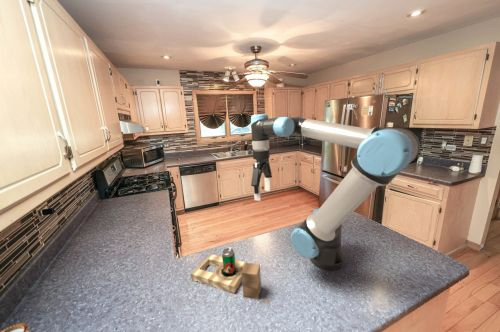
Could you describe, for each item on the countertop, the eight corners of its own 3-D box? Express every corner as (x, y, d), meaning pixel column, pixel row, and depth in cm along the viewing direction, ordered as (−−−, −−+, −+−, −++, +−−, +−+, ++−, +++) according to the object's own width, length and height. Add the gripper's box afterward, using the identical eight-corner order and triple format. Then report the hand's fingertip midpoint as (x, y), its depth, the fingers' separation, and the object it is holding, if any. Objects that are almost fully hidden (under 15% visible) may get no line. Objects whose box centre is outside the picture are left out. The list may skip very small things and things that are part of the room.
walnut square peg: (261, 287, 78) (259, 264, 77) (258, 299, 73) (256, 274, 71) (247, 285, 80) (245, 262, 78) (243, 297, 75) (241, 272, 73)
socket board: (249, 269, 89) (249, 263, 88) (234, 293, 76) (233, 286, 76) (211, 259, 97) (210, 253, 96) (191, 280, 84) (190, 273, 84)
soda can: (239, 276, 85) (236, 250, 83) (229, 283, 81) (227, 256, 79) (230, 271, 88) (228, 245, 86) (221, 277, 85) (219, 251, 83)
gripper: (262, 146, 105) (264, 186, 109) (241, 153, 82) (244, 204, 86) (276, 146, 102) (278, 187, 106) (258, 154, 79) (261, 205, 83)
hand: (263, 195), depth 96 cm, fingers open, 13 cm apart
